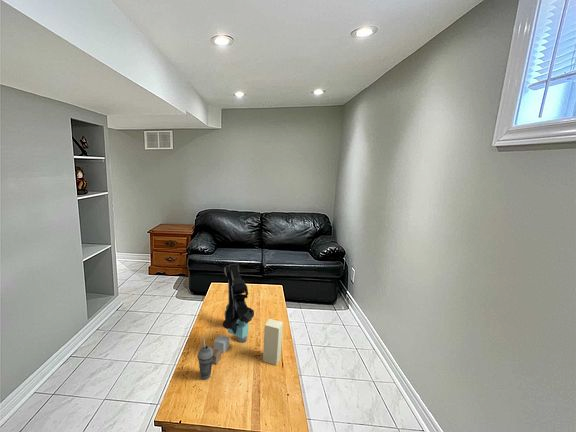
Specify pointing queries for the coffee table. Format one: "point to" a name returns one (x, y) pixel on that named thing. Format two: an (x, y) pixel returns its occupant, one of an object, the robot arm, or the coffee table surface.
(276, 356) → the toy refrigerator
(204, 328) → the coffee table surface
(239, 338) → the grey cylinder
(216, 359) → the walnut cube
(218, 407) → the coffee table surface
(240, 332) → the teal long brick
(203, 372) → the beverage cup
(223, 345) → the grey square brick
